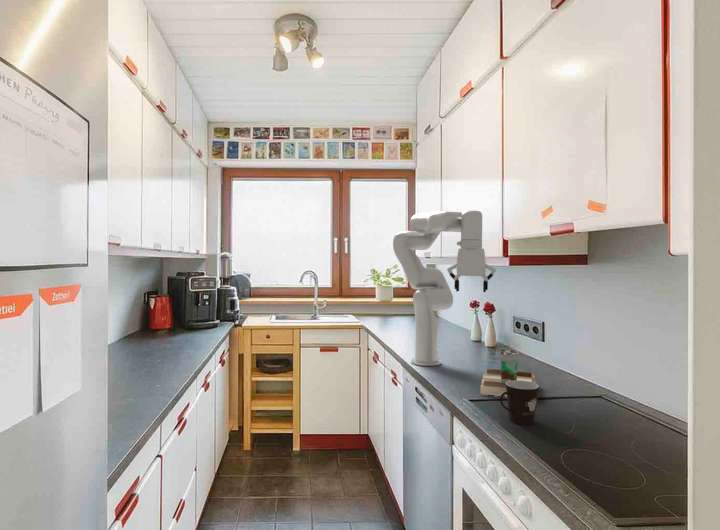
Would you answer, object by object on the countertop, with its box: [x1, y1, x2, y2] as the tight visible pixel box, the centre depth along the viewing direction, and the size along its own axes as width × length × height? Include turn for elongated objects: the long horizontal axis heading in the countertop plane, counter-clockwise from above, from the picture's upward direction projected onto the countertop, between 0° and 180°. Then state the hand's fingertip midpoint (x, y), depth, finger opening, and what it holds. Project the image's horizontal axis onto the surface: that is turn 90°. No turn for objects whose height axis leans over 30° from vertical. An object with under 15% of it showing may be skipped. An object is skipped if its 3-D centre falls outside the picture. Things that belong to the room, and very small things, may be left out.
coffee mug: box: [499, 380, 540, 426], centre depth 124 cm, size 12×9×10 cm
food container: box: [500, 347, 521, 382], centre depth 153 cm, size 12×6×10 cm, turn 163°
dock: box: [480, 368, 537, 398], centre depth 153 cm, size 18×17×4 cm
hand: (470, 291), depth 166 cm, fingers open, 9 cm apart
